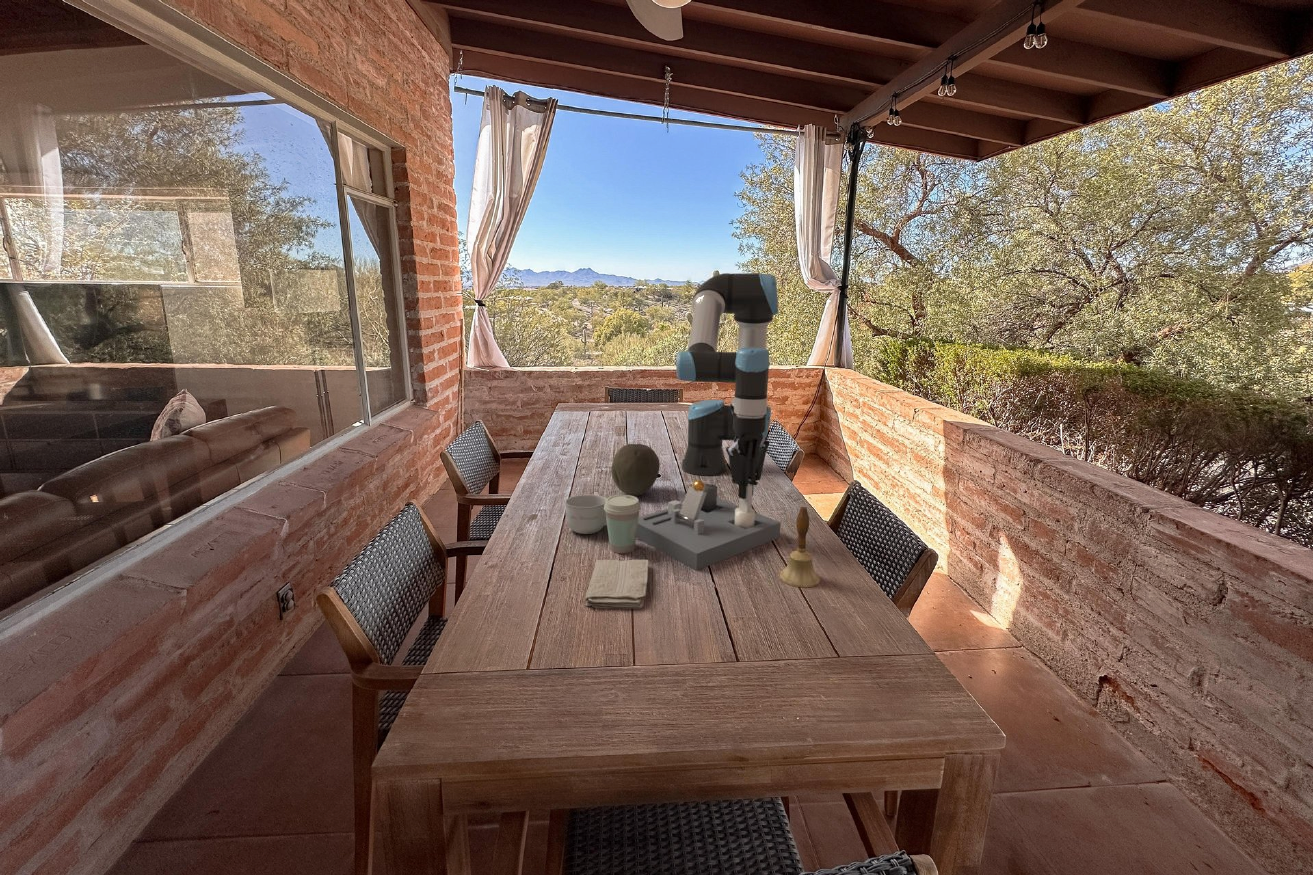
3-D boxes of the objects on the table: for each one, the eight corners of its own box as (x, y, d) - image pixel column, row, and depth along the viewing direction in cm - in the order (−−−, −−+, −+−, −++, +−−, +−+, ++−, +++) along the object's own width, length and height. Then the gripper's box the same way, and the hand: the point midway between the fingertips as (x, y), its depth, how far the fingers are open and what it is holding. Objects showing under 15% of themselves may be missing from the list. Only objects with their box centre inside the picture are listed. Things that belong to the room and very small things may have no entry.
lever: (681, 518, 141) (695, 478, 142) (699, 526, 137) (714, 485, 137) (673, 516, 140) (688, 476, 140) (691, 524, 135) (706, 482, 135)
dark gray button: (707, 502, 155) (708, 482, 153) (720, 507, 151) (721, 487, 150) (694, 506, 152) (695, 486, 150) (707, 512, 148) (707, 491, 147)
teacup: (556, 532, 145) (555, 502, 143) (582, 518, 154) (581, 489, 152) (603, 544, 138) (603, 512, 136) (627, 528, 148) (627, 498, 146)
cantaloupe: (658, 502, 166) (659, 451, 162) (609, 501, 166) (609, 451, 162) (659, 486, 179) (660, 439, 176) (614, 485, 180) (613, 438, 176)
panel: (711, 509, 161) (712, 485, 159) (779, 537, 143) (781, 510, 141) (630, 534, 144) (630, 508, 142) (696, 570, 126) (697, 540, 124)
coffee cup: (636, 557, 131) (636, 508, 128) (599, 554, 133) (599, 505, 130) (644, 542, 140) (644, 495, 137) (610, 538, 141) (609, 492, 138)
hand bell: (791, 590, 118) (796, 517, 114) (772, 571, 126) (777, 502, 122) (827, 585, 120) (834, 513, 116) (807, 567, 128) (812, 499, 124)
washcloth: (584, 611, 111) (583, 596, 110) (595, 567, 128) (594, 554, 127) (646, 612, 110) (646, 597, 110) (648, 568, 128) (648, 555, 127)
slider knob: (675, 511, 148) (675, 500, 147) (681, 514, 146) (681, 502, 146) (668, 513, 147) (668, 502, 146) (674, 516, 145) (674, 505, 144)
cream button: (743, 526, 146) (744, 505, 144) (757, 532, 142) (759, 511, 141) (730, 531, 143) (730, 509, 141) (744, 537, 139) (745, 515, 138)
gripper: (756, 409, 142) (751, 499, 148) (718, 415, 134) (715, 511, 140) (780, 414, 136) (774, 508, 142) (742, 421, 128) (737, 520, 134)
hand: (745, 509), depth 141 cm, fingers closed
